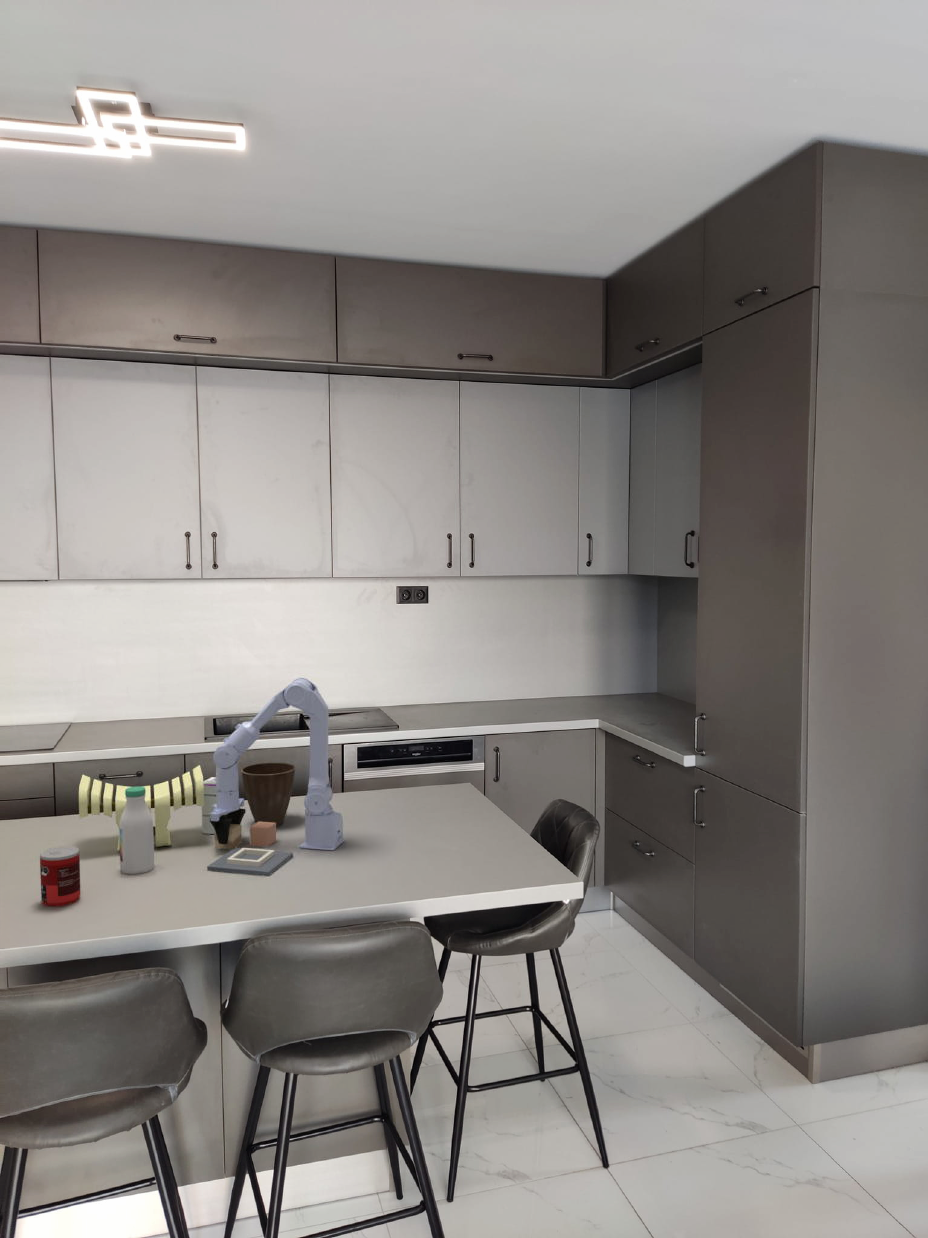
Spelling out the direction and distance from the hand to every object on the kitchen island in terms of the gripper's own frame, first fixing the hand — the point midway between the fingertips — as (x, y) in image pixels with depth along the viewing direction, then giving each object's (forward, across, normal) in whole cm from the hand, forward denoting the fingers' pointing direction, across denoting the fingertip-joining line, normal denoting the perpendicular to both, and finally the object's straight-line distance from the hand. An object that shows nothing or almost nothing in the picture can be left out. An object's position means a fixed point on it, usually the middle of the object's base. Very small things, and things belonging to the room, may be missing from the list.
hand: (228, 840), depth 229 cm
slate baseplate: (+1, +11, +12) cm, 16 cm away
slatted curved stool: (+2, +3, -23) cm, 23 cm away
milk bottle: (+2, +21, -13) cm, 25 cm away
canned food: (+2, +42, -18) cm, 46 cm away
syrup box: (+2, -10, -9) cm, 14 cm away
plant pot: (+2, -20, +2) cm, 20 cm away
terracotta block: (+2, -4, +8) cm, 9 cm away
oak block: (+1, 0, 0) cm, 1 cm away
